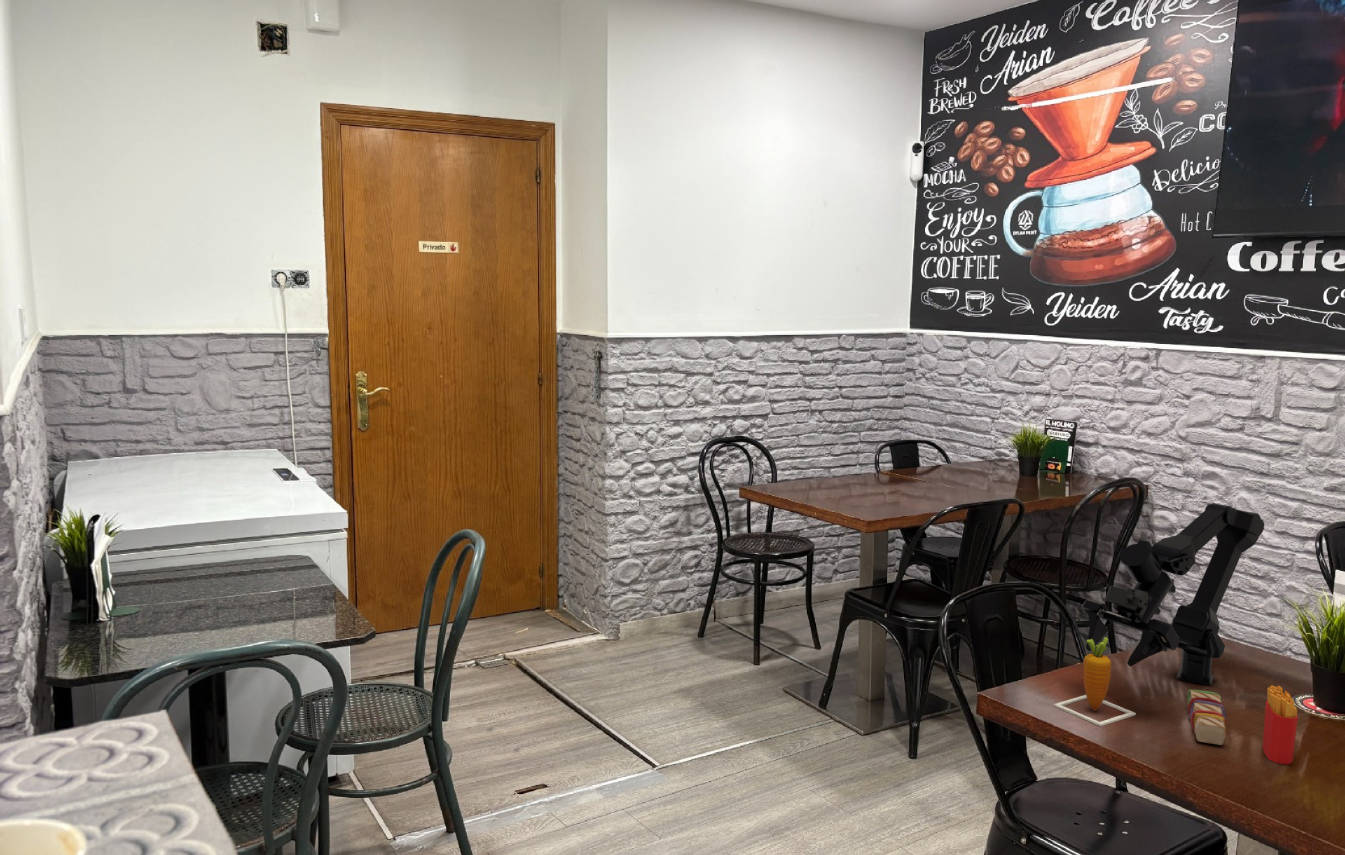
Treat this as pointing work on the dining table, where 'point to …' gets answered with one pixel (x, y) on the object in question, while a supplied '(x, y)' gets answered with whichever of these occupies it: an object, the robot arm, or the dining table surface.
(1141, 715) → the dining table surface
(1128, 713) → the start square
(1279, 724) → the french fries
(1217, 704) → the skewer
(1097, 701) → the carrot
